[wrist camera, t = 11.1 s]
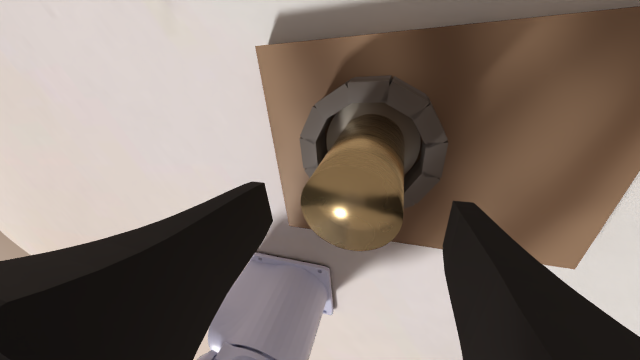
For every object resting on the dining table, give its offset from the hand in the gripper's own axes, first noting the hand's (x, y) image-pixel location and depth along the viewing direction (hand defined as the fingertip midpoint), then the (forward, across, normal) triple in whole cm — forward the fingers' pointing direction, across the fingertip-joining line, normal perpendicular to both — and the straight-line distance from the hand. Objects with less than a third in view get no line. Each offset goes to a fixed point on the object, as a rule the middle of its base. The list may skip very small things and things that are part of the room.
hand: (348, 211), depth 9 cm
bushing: (+7, 0, 0) cm, 7 cm away
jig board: (+9, -3, +1) cm, 9 cm away
